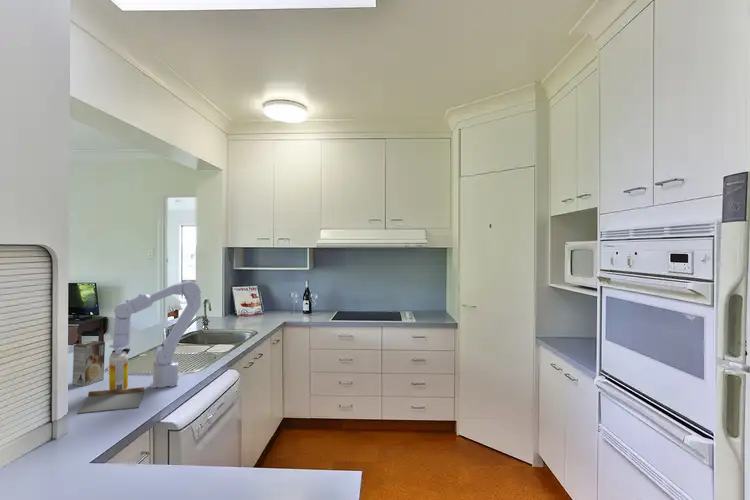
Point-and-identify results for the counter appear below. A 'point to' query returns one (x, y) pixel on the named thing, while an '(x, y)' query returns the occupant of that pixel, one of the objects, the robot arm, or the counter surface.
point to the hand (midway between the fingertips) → (120, 368)
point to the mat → (111, 402)
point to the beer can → (118, 371)
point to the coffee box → (88, 363)
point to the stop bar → (115, 391)
